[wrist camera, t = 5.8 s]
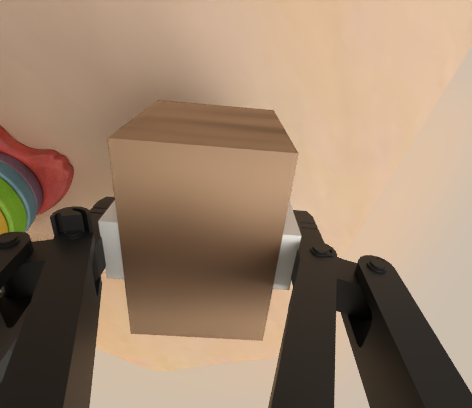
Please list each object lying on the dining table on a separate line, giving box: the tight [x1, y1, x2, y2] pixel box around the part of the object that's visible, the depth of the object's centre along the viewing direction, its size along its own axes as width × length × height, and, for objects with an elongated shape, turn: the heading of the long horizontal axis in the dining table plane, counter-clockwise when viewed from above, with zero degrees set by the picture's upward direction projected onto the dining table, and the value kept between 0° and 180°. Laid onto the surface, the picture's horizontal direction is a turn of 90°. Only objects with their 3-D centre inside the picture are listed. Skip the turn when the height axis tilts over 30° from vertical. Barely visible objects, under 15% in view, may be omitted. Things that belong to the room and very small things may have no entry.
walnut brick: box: [108, 100, 298, 341], centre depth 15 cm, size 9×6×7 cm, turn 175°
